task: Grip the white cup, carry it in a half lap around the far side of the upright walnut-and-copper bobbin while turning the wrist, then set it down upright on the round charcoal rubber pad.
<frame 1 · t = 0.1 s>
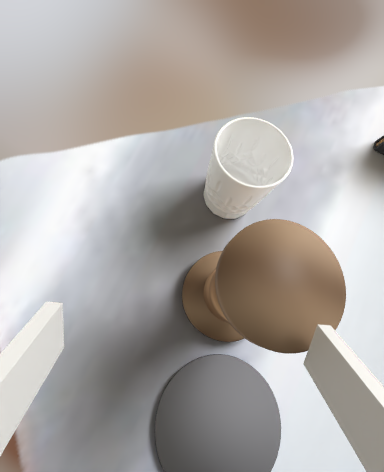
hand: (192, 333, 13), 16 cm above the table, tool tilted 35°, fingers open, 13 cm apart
bobbin: (223, 294, 29), on the table
white cup: (227, 196, 33), on the table
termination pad: (218, 422, 26), on the table
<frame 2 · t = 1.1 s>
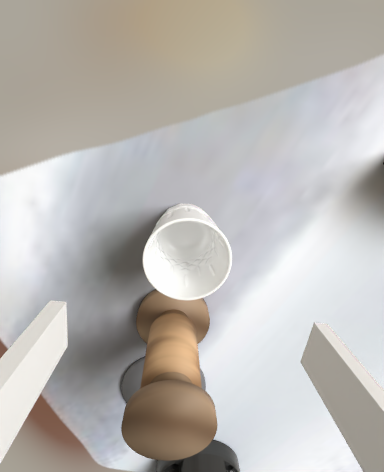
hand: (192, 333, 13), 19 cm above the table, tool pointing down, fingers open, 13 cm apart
bobbin: (173, 316, 35), on the table
white cup: (184, 228, 31), on the table
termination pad: (164, 385, 39), on the table
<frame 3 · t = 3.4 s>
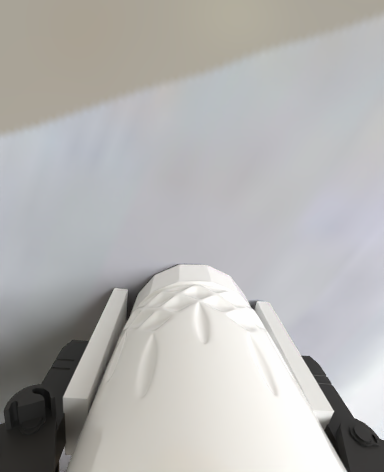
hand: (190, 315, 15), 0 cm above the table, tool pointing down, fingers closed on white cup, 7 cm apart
white cup: (190, 310, 15), on the table, touching gripper
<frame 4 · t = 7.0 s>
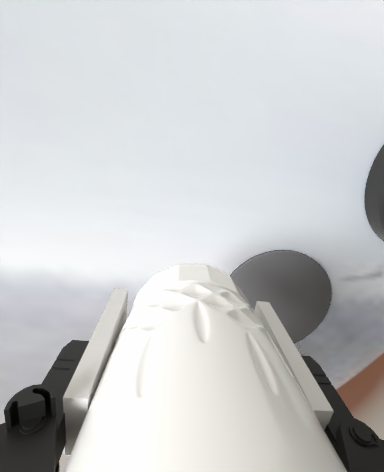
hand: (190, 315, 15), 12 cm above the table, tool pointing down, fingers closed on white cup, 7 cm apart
white cup: (190, 310, 15), point 11 cm above the table, touching gripper
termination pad: (273, 301, 29), on the table
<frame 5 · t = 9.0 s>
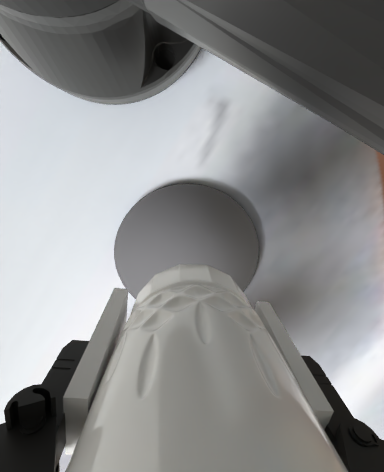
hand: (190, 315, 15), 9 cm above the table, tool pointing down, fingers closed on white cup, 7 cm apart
white cup: (190, 310, 15), point 8 cm above the table, touching gripper
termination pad: (187, 254, 23), on the table
when the fingers open (2 cm above the table, at t = 10.6 s): white cup stays where it is, resting on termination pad.
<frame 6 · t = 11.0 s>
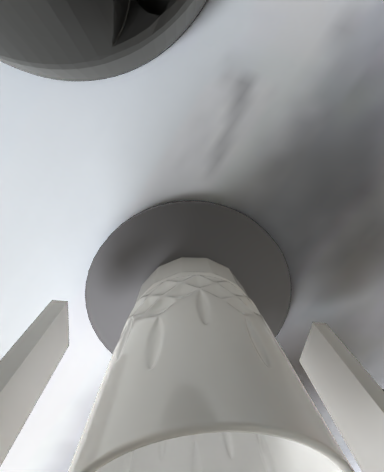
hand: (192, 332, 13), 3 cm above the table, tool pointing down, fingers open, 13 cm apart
white cup: (191, 302, 16), resting on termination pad
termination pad: (189, 298, 16), on the table
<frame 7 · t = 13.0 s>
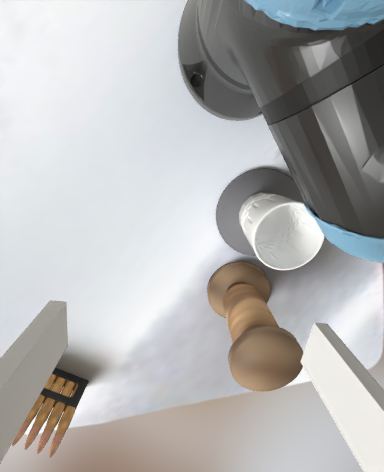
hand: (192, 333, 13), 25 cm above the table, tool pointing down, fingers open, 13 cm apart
bobbin: (237, 288, 41), on the table
white cup: (260, 214, 36), resting on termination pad
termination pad: (259, 213, 37), on the table
ammunition clip: (60, 372, 46), on the table
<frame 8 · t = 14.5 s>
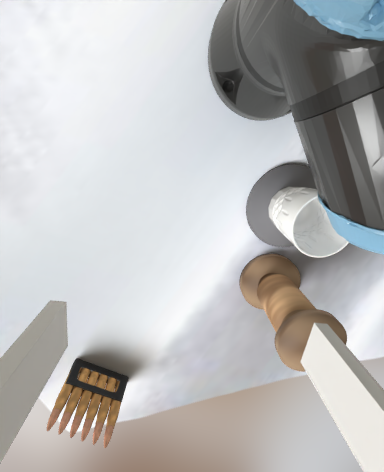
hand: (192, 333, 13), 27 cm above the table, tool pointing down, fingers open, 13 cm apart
bobbin: (268, 280, 43), on the table
white cup: (288, 207, 38), resting on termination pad
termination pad: (287, 207, 39), on the table
ammunition clip: (101, 370, 48), on the table
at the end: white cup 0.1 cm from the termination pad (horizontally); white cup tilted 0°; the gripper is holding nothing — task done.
